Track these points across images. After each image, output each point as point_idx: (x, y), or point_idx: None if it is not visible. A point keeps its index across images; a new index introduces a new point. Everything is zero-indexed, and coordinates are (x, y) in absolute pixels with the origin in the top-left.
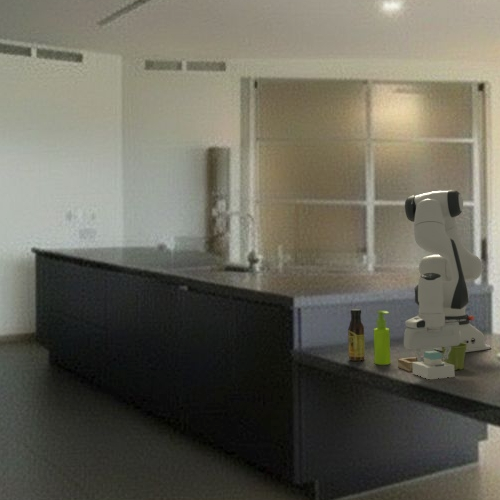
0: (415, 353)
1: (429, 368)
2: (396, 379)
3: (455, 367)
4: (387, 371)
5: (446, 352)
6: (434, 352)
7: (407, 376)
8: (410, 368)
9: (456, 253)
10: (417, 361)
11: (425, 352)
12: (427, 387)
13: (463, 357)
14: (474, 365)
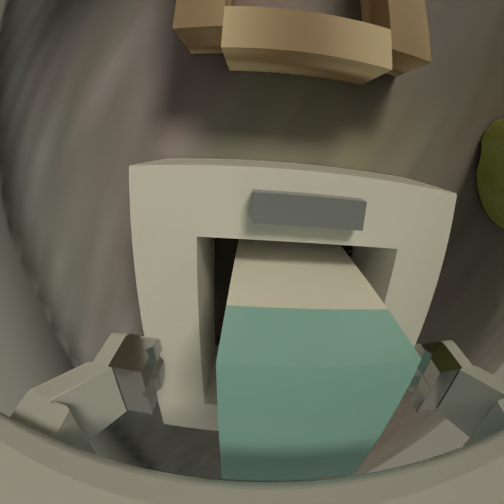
0: (54, 387)
1: (178, 421)
2: (30, 274)
3: (499, 224)
4: (68, 24)
5: (458, 408)
6: (318, 448)
7: (97, 231)
8: (207, 46)
9: None
10: (303, 11)
11: (217, 397)
12: (126, 442)
13: None
14: None
